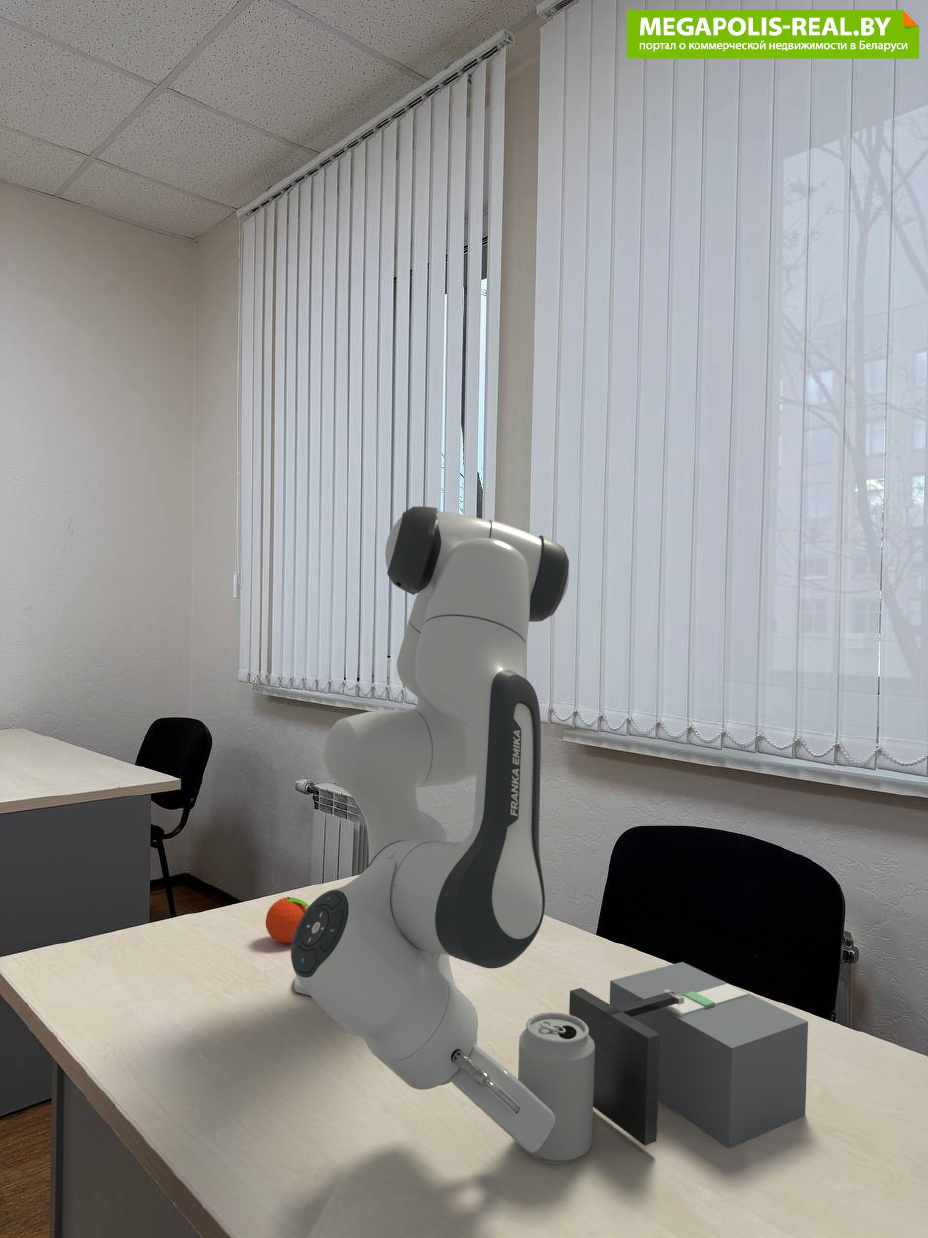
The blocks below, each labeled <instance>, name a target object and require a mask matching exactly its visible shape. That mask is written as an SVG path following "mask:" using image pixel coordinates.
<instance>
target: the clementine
mask: <svg viewBox="0 0 928 1238" xmlns="http://www.w3.org/2000/svg"><path fill="white" fill-rule="evenodd" d="M309 906H310V904H309V903H307V902H305V901H304V900H303V899H299V898H297V897H291V896H287V897H282V898H280V899H278V900H277V901H275V902H274V903H273V904H272V905H271V906H270V907H269V909H268V911H267V912H266V918H265V928H266V930H267V932H268V935H270V936H269V937H271V938H272V940H275V941H276V942H277V943H281V944H292V939H293V936H294V933H295V930H296V927H297V925H298V923H299V921H300V919H301V917H302V916H303V914H304V913H305V911H306V910H307V908H308V907H309Z"/></svg>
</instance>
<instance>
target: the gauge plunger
mask: <svg viewBox="0 0 928 1238" xmlns="http://www.w3.org/2000/svg"><path fill="white" fill-rule="evenodd" d="M683 1003H684V997H682V996H680V995H678V994H676V993H674V992H672V991H670V990H668V989H667V990H663V994H660V995H657V996H653V997H650V998H646V999H642V1000H639V1001H635V1002H632V1003H628V1004H625V1005H621V1006H618V1007H613V1006H611V1005H610V1003H607V1002H606V1001H604V1000H603V999H601V998H599V997H597V996H595V995H594V994H593V993H591V992H589V991H587V990H586V989H584V988H583V987H578V988H576V989H572V990H570V991H569V1009H568V1010H569V1011H568V1012H569V1013H568V1014H569V1015H572V1016H575V1017H577V1018H579V1019H580V1020H582V1021H584V1022H585V1024H586V1025H587V1026H588V1029H589V1033H588V1035H589V1036H590V1037H591V1038H592V1039H593V1041H594V1045H595V1060H594V1091H593V1109H596V1111H598V1112H599V1113H600V1114H602V1115H603V1116H604V1117H606V1118H608V1120H610V1121H611V1122H612V1123H614V1124H615V1125H617V1126H618V1127H619V1128H620V1129H622V1130H623V1131H624V1132H626V1134H628V1135H629V1136H630V1137H632V1138H633V1139H634V1140H636V1141H637V1142H639V1143H640V1144H641V1145H643V1146H644V1147H647V1146H648V1145H650V1144H654V1143H656V1142H657V1141H658V1113H659V1112H658V1111H659V1110H658V1108H659V1100H658V1085H659V1053H660V1034H659V1033H657V1032H655V1031H654V1030H652V1029H650V1028H649V1027H647V1026H645V1025H644V1024H642V1023H640V1022H638V1021H637V1020H635V1019H633V1018H632V1017H633V1016H637V1015H640V1014H643V1013H647V1012H650V1011H654V1010H657V1009H660V1008H664V1007H667V1006H671V1005H674V1004H678V1005H679V1004H683Z"/></svg>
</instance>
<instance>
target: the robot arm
mask: <svg viewBox="0 0 928 1238" xmlns="http://www.w3.org/2000/svg"><path fill="white" fill-rule="evenodd" d="M384 553H385V554H384V555H385V565H386V567H387V569H386V570H387V571H386V574H387V576H388V578H389V580H391V582H392V584H393V585H394V586H396V587H397V588H398V589H401V590H402V591H405V592H406V593H409V594H410V595H413V596H415V599H414V603H413V606H412V609H411V612H410V614H409V618H408V621H407V624H406V628H405V631H404V636H403V639H402V642H401V646H400V650H399V653H398V656H397V660H396V669H397V675H398V678H399V679H400V681H401V683H402V685H403V686H404V687H405V688H406V689H407V690H408V691H409V692H410V693H412V694H413V695H414V696H416V697H418V701H417V704H416V705H415V706H414V707H413V708H412V709H408V710H407V709H405V710H403V709H402V710H379V711H378V710H377V711H373V710H372V711H371V710H370V711H367V712H363V713H358V714H354V715H351V716H347V717H344V718H341V719H338V720H336V722H335V723H334V724H333V726H331V728H330V730H329V732H328V734H327V736H326V739H325V742H324V747H323V748H324V750H323V757H324V758H323V760H324V764H325V767H326V770H327V772H328V774H329V776H330V777H331V779H332V780H333V781H334V783H335V784H336V785H337V786H339V787H340V788H341V789H342V790H344V791H345V792H346V793H347V794H348V795H349V796H351V798H352V799H353V800H354V802H355V803H356V804H357V806H358V808H359V810H360V811H361V812H360V813H361V814H362V816H363V817H362V818H364V822H365V826H366V830H367V831H366V832H367V838H368V839H367V841H368V844H367V845H368V866H367V867H366V869H365V870H364V871H363V872H362V873H360V874H359V875H358V876H357V877H355V879H353V880H352V881H350V882H348V883H347V884H345V885H342V886H340V887H337V888H334V889H330V890H327V891H325V892H324V893H322V894H320V895H319V896H318V897H316V898H315V900H313V901H312V903H311V904H309V907H307V910H306V911H305V913H304V914H303V916H302V917H301V919H300V921H299V923H298V925H297V927H296V930H295V933H294V936H293V939H292V943H290V944H291V945H290V958H291V959H290V960H291V966H292V968H293V971H294V973H295V976H294V983H293V989H294V991H295V992H296V993H299V994H302V995H306V996H310V997H311V998H312V999H313V1000H314V1001H315V1002H316V1004H317V1005H318V1006H319V1007H320V1008H321V1009H322V1010H323V1011H324V1012H325V1013H326V1014H327V1015H328V1016H329V1017H331V1019H332V1020H334V1022H336V1024H338V1025H339V1026H340V1027H341V1028H342V1029H344V1030H345V1031H346V1032H347V1033H349V1034H351V1035H354V1036H357V1037H360V1038H361V1039H363V1040H364V1043H366V1045H367V1047H368V1049H369V1050H370V1052H371V1053H372V1054H373V1055H374V1056H375V1057H376V1058H377V1059H378V1060H379V1061H380V1062H382V1064H384V1065H385V1066H386V1067H387V1068H388V1069H389V1070H390V1071H392V1072H393V1073H394V1074H395V1075H396V1076H398V1077H399V1078H400V1080H402V1081H403V1082H404V1083H405V1084H406V1085H408V1086H409V1087H411V1088H413V1089H414V1090H415V1089H416V1090H419V1091H420V1090H421V1091H426V1090H430V1089H434V1088H437V1087H439V1086H445V1085H447V1084H449V1083H452V1084H453V1085H454V1086H455V1087H456V1088H457V1089H458V1090H459V1091H460V1092H462V1093H463V1094H464V1095H465V1096H466V1097H467V1098H468V1099H469V1100H470V1101H471V1102H472V1103H473V1104H475V1106H477V1107H478V1108H479V1109H480V1110H481V1111H483V1113H485V1115H487V1116H488V1117H489V1118H490V1119H491V1120H492V1121H493V1122H494V1123H495V1124H496V1125H498V1126H499V1127H500V1128H501V1129H502V1130H503V1131H504V1132H505V1133H506V1134H507V1135H508V1136H510V1137H511V1138H512V1139H513V1140H514V1141H515V1142H516V1143H517V1144H518V1145H519V1146H521V1147H522V1148H523V1149H524V1150H525V1151H526V1150H527V1151H528V1152H531V1153H535V1152H537V1151H538V1150H539V1148H540V1147H541V1146H542V1144H543V1143H544V1142H545V1140H546V1139H547V1137H548V1136H549V1134H550V1132H551V1130H552V1128H553V1126H554V1124H555V1121H556V1118H555V1115H554V1113H553V1112H552V1111H551V1110H550V1109H549V1108H548V1107H547V1106H546V1105H545V1104H544V1103H543V1102H542V1101H541V1100H540V1099H539V1098H537V1097H536V1096H535V1095H534V1094H533V1093H532V1092H531V1091H530V1090H529V1089H528V1088H527V1087H526V1086H524V1085H523V1084H522V1083H521V1082H520V1081H519V1080H518V1077H516V1076H514V1074H512V1073H511V1072H510V1071H509V1070H508V1069H507V1068H506V1067H504V1066H503V1065H502V1064H501V1063H499V1062H498V1061H497V1060H496V1059H495V1058H493V1057H492V1056H491V1055H489V1054H488V1053H487V1052H486V1051H485V1050H483V1049H482V1048H481V1047H480V1046H479V1045H478V1029H479V1017H478V1012H477V1010H476V1007H475V1005H474V1004H473V1002H472V1001H471V999H469V998H468V997H467V996H466V995H465V994H464V993H463V992H462V991H461V990H460V989H459V988H458V987H457V986H456V983H455V980H454V977H453V972H452V967H451V963H450V956H451V957H452V958H455V959H458V960H460V961H463V962H467V963H470V964H471V965H472V964H473V965H475V966H479V967H482V968H485V969H499V968H503V967H506V966H508V965H509V964H511V963H513V962H514V961H516V959H518V958H519V957H520V956H521V955H522V954H523V953H524V952H525V951H526V950H527V949H528V947H530V946H531V944H532V942H533V941H534V940H535V938H536V936H537V934H538V933H539V931H540V928H541V926H542V923H543V919H544V916H545V908H546V892H545V885H544V884H545V883H544V876H543V869H542V864H541V855H540V811H541V810H540V809H541V806H540V805H541V804H540V803H541V764H542V762H541V761H542V760H541V759H542V756H541V755H542V753H541V752H542V731H541V730H542V724H541V711H540V703H539V698H538V695H537V693H536V690H535V688H534V686H533V685H532V684H531V682H530V681H529V680H528V679H527V678H526V675H525V664H524V663H525V653H526V648H527V647H526V646H527V639H528V634H529V625H530V624H529V623H532V622H533V623H535V622H536V623H538V622H542V621H544V620H545V621H546V619H548V618H550V617H552V616H553V615H554V614H555V613H556V611H557V609H558V608H559V605H560V604H561V603H562V602H563V599H565V598H564V597H565V595H566V592H567V590H568V587H569V581H570V572H569V571H570V569H569V567H570V562H569V561H570V559H569V557H568V556H569V555H567V552H566V550H565V548H564V546H563V545H561V544H559V543H558V542H556V541H554V540H553V539H550V538H548V537H546V536H544V535H539V536H536V535H534V534H532V533H530V532H527V531H525V530H523V529H520V528H518V527H515V526H512V525H509V524H506V523H503V522H499V521H497V520H493V519H488V520H487V519H483V518H481V517H474V516H471V515H466V514H461V513H456V512H455V513H454V512H449V511H448V512H447V511H440V510H438V507H433V506H432V507H431V506H412V507H410V508H409V509H406V510H405V511H404V512H402V514H401V516H400V518H399V519H397V521H396V522H395V524H394V525H393V526H392V529H391V530H390V532H389V534H388V537H387V540H386V543H385V552H384ZM474 778H476V781H475V792H474V793H475V794H474V795H475V797H474V814H473V825H472V828H471V831H470V833H469V835H468V836H467V838H465V840H464V841H448V835H447V832H446V829H445V827H443V825H442V823H440V821H439V820H437V819H436V818H435V817H433V816H431V815H430V814H428V813H425V812H424V811H422V810H420V808H419V806H418V799H417V789H418V788H427V787H438V786H449V785H450V786H451V785H455V784H460V783H463V782H466V781H468V780H472V779H474ZM527 1151H526V1152H527ZM528 1152H527V1153H528Z"/></svg>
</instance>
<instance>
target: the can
mask: <svg viewBox="0 0 928 1238" xmlns="http://www.w3.org/2000/svg"><path fill="white" fill-rule="evenodd" d="M525 1027H526V1028H525V1029H524V1030H523V1031H522V1032H521V1034H520V1035H519V1039H518V1041H519V1043H518V1073H517V1074H518V1075H517V1079H518V1080H519V1081H520V1082H521V1083H522V1084H523V1085H524V1086H526V1087H527V1088H528V1089H529V1090H530V1091H531V1092H532V1093H533V1094H534V1095H535V1096H536V1097H537V1098H539V1099H540V1100H541V1101H542V1102H543V1103H544V1104H545V1105H546V1106H547V1107H548V1108H549V1109H550V1110H551V1111H552V1112H553V1113H554V1115H555V1118H556V1121H555V1124H554V1126H553V1128H552V1130H551V1132H550V1134H549V1136H548V1137H547V1139H546V1140H545V1142H544V1143H543V1144H542V1146H541V1147H540V1148H539V1150H538V1151H537V1152H535V1153H531V1152H528V1151H527V1150H525V1151H526V1152H527V1153H528V1154H529V1155H530V1156H531V1157H533V1158H534V1159H535V1160H538V1161H540V1162H542V1163H547V1164H553V1165H563V1164H570V1163H573V1162H575V1161H577V1160H578V1159H579V1158H580V1157H581V1156H584V1154H586V1152H587V1153H588V1151H590V1149H591V1145H592V1143H593V1120H594V1118H593V1115H594V1113H593V1112H594V1107H593V1091H594V1060H595V1045H594V1041H593V1039H592V1038H591V1037H590V1036H589V1035H588V1033H589V1029H588V1026H587V1025H586V1024H585V1022H584V1021H582V1020H580V1019H579V1018H577V1017H575V1016H572V1015H569V1013H563V1012H555V1011H554V1012H553V1011H551V1012H550V1011H549V1012H541V1013H537V1014H535V1015H532V1016H531V1017H530V1018H528V1020H527V1021H526V1023H525Z"/></svg>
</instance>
